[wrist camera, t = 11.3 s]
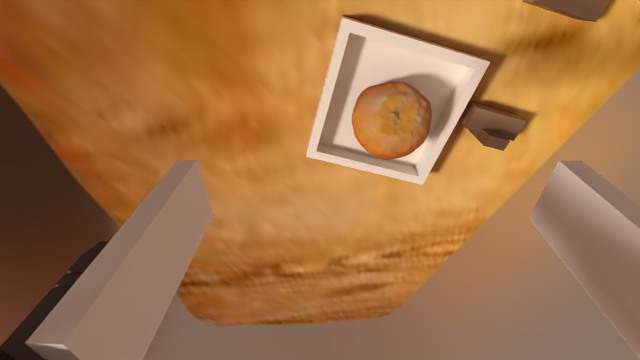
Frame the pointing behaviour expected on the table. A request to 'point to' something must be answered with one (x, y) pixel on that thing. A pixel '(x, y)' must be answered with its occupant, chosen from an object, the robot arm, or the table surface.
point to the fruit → (391, 119)
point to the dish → (381, 67)
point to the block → (502, 125)
